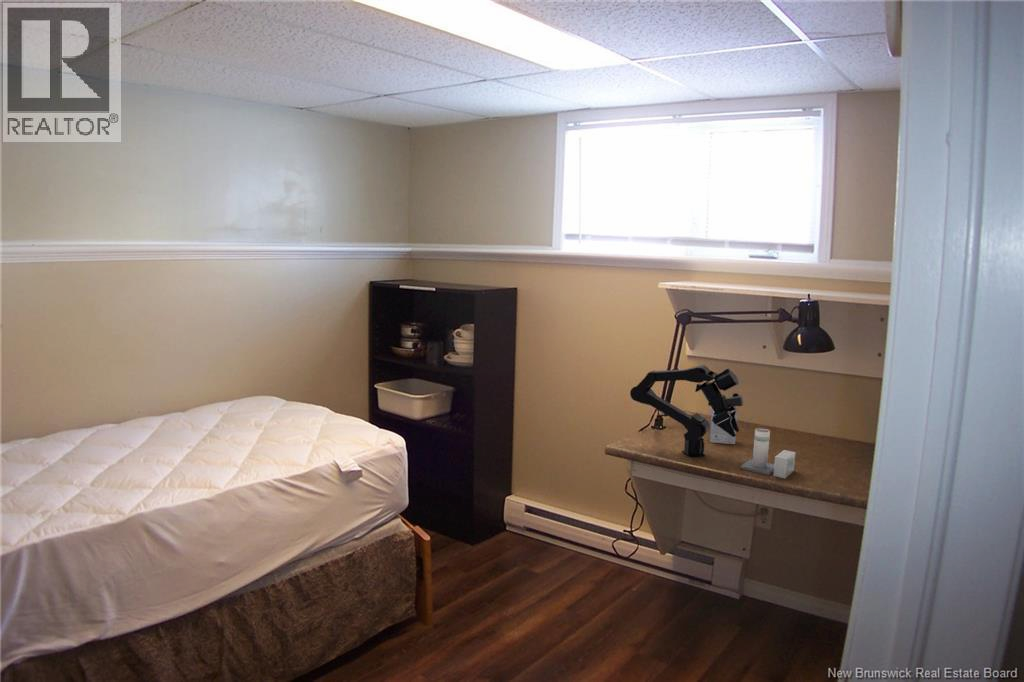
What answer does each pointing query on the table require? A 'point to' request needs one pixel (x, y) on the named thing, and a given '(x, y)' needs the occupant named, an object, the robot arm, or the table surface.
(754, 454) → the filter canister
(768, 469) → the dock mat
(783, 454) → the block
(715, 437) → the ink cartridge box
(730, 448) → the table surface
